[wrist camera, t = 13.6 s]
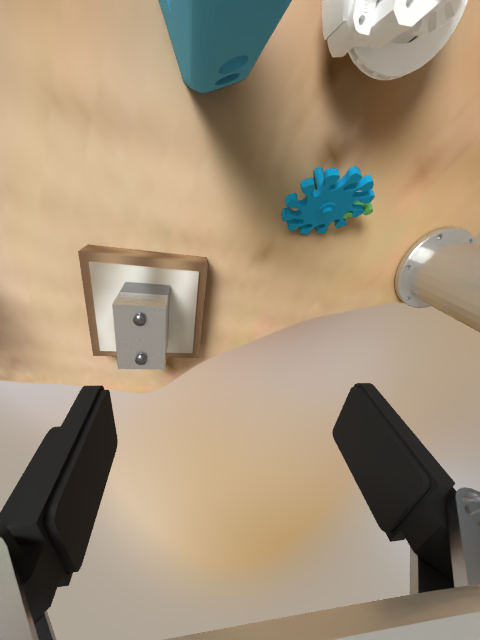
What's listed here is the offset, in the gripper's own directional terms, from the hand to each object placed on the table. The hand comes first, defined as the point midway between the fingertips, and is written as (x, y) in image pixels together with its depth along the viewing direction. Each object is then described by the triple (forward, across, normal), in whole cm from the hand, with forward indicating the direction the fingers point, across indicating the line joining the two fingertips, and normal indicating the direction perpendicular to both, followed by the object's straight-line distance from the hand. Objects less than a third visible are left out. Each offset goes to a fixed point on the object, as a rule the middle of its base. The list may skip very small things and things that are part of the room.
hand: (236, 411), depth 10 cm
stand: (+26, +8, +8) cm, 28 cm away
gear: (+27, -13, -7) cm, 31 cm away
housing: (+23, +7, +8) cm, 25 cm away
